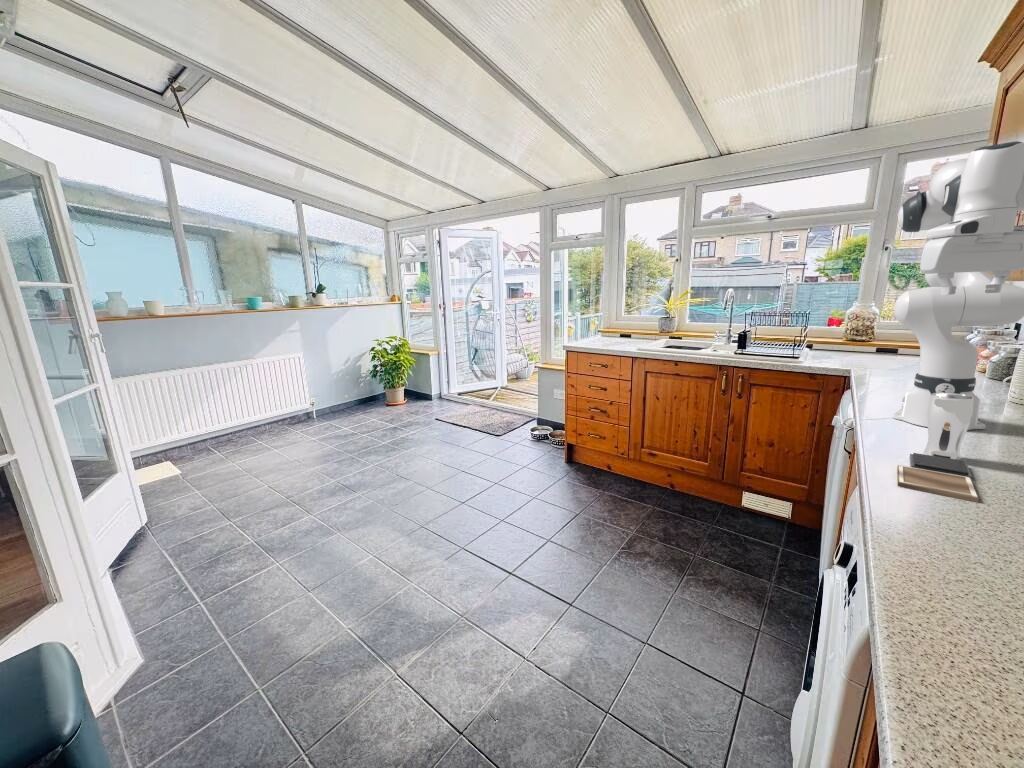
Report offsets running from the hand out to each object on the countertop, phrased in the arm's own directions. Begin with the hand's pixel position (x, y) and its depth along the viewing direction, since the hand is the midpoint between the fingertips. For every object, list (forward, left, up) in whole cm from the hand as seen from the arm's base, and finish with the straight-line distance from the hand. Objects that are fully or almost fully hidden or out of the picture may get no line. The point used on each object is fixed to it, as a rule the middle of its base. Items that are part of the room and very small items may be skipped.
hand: (969, 293), depth 90 cm
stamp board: (+20, -2, -38) cm, 43 cm away
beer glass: (+1, 0, -38) cm, 38 cm away
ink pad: (+10, -1, -38) cm, 39 cm away
